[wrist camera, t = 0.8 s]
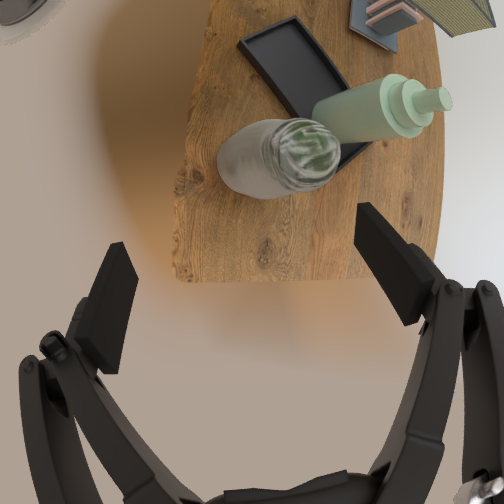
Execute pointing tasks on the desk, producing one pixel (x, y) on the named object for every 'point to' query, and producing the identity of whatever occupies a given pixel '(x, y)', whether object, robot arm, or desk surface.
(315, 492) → the robot arm
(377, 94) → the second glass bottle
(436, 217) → the desk surface
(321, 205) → the desk surface
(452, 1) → the woven storage basket
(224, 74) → the desk surface
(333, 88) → the tray
